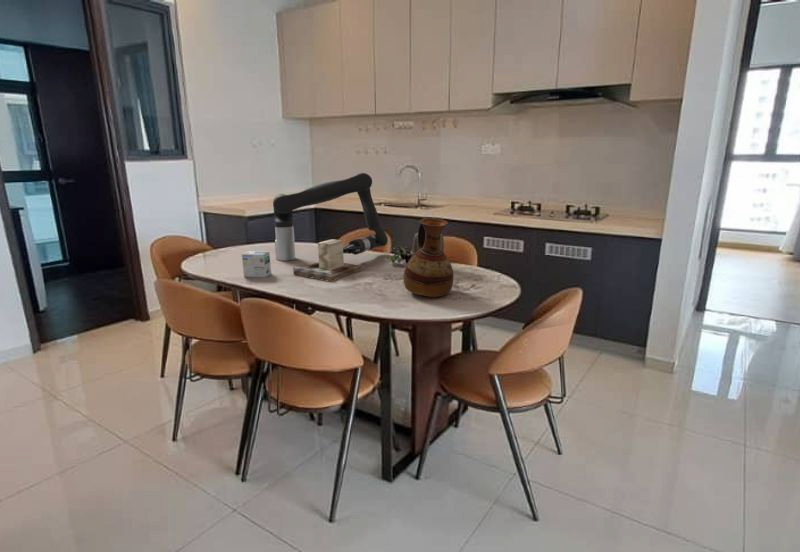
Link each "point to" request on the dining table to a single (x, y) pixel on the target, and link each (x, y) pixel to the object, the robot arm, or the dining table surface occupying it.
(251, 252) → the light bulb box
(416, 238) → the tabletop clock
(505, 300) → the dining table surface
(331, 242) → the birch block
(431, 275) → the ceramic pitcher
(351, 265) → the trap board
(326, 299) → the dining table surface
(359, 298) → the dining table surface
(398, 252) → the passion flower
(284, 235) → the robot arm
